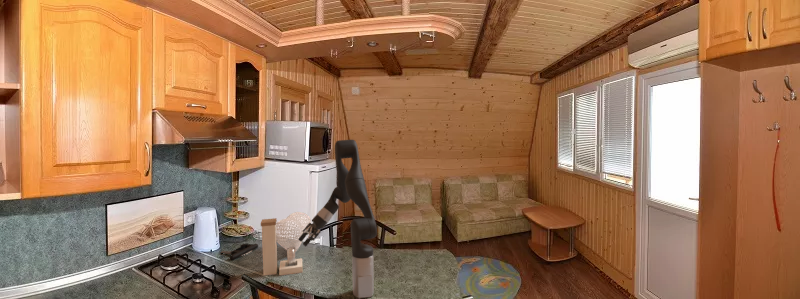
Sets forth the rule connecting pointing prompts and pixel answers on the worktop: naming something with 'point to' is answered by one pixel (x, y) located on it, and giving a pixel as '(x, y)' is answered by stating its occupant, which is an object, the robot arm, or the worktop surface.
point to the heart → (290, 218)
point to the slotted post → (274, 251)
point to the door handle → (241, 250)
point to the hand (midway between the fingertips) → (301, 242)
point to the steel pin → (291, 256)
